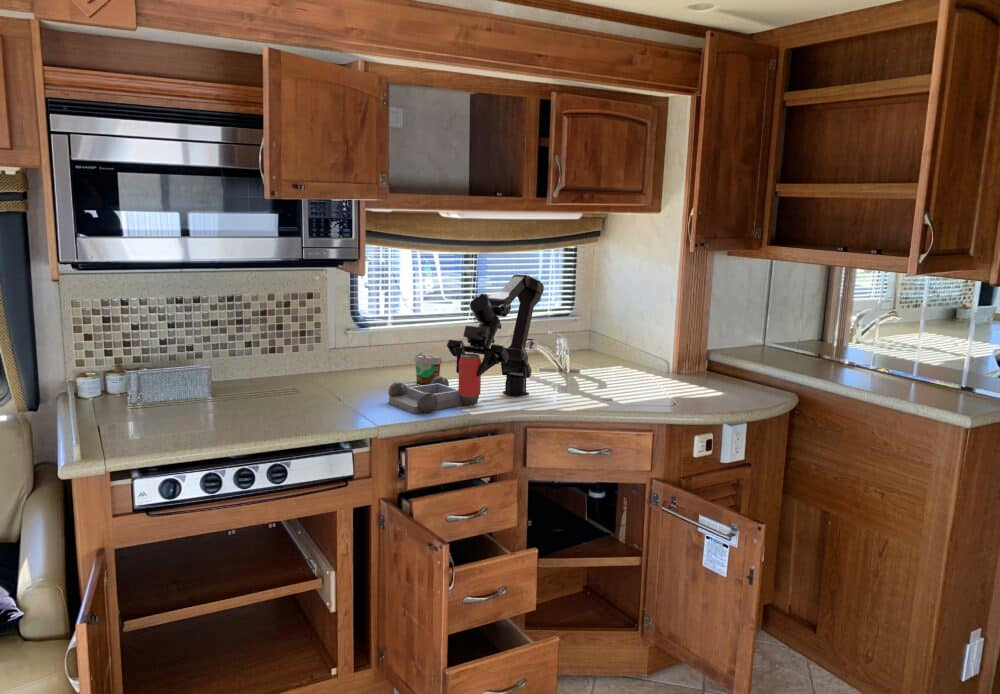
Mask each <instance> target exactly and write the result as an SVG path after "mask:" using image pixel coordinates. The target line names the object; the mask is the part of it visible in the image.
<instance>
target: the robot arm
mask: <svg viewBox="0 0 1000 694" xmlns="http://www.w3.org/2000/svg"><path fill="white" fill-rule="evenodd" d="M544 289H545V286H544V284H543V283H542V281H541V280H539V279H537V278H534V277H531V275H528V274H525V273H514V274H513V275H512V277H511V279H509V281H508V282H507V283H506V285H504V287H503V288H502V289H501V290H500V291H499V292H496V293H493V294H490V295H489V296H488V294H487V293H480V295H479V296H477V297H475V298H473V299H472V300H471V301H470V303H469V307H470V310H471V312H472V313H473V316H474V318H475V319H476V320H477V322H479V324H478V326H471V325H466V326H465V327H464V328H465V329H464V331H463V337H464V338H467V340H466V342H467V343H468V344H464V342H463V340H461V339H453V338H451V339H448V341H447V343H446V347H447V349H448V351H449V352H450V354H451V355H452V356H453V357H456V367H455V368H456V370H455V371H456V374H459V361H460V358H461V355H462V354H467V353H469V354H478V355H483V358H482V361H481V365H480V367H479V370H478V373H477V375H478V376H480V375H481V376H482V375H483V374H484V373H486V372H487V371H488V370H489V369H491V368H493V367H494V366H496V365H499V364H500V367H501V369H500V370H501V374H502V376H505V377H506V379H505V383H504V384H505V385H504V387H505V388H504V390H503V391H502V393H503V394H505V395H509V396H512V397H520V396H525V395H530V392H528V391H527V379H528V378H531V375H532V371H533V370H532V367H531V365H530V364H529V355H528V352H527V350H526V345H527V341H528V337H529V331H530V325H531V322H532V318H533V313H534V307H536V306H537V304H538V303H539V302H540V301H541V298H542V295H543V294H544ZM516 298H517V299H518V302H519V305H518V311H517V314H516V318H515V319H516V320H515V325H514V327H513V328H514V330H513V334H512V339H511V343H510V345H509V346H508V347H505V345H504V344H496V343H495V342H496V340H495V339H494V338H495V336H496V333H497V332H498V330H499V329H500V330H502V324H501V320H500V318H499V317H501V318H506V317H507V316H508V314H509V313H510V311H511V309H512V305H511V304H512V302H514V300H515V299H516Z"/></svg>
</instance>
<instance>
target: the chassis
mask: <svg viewBox="0 0 1000 694" xmlns="http://www.w3.org/2000/svg"><path fill="white" fill-rule="evenodd" d="M387 393H388V404H389V403H390V404H389V405H391V404H392V406H394V405H395V407H397V406H398V407H397V408H399V407H400V409H402V408H403V409H402V410H404V409H406V410H405V411H407V410H409V411H411V412H410V413H412V412H413V413H412V414H414V413H415V414H418V413H417V412H420V413H425V414H430V413H429V412H431V413H433V412H434V411H436V410H435V409H437V410H442V408H443V409H448V407H449V408H453V407H454V408H455V407H459V405H460V406H465V404H466V406H471V405H472V406H474V405H475V404H477V403H478V401H479V398H480V395H479V396H476V397H463V396H460V395H459V393H458V389H457V388H456V387H455V388H454V387H451V386H450V385H449V380H448V378H447V377H444V376H442V375H441V376H440V375H439V376H437V377H435V378H434V379H433V380H432V381H431V384H429V385H422V386H421V385H417V386H410V387H408V386H407V384H406V383H403V382H400V381H395V382H393V383H392V384H390V386H389V388H388V392H387ZM472 406H471V407H472ZM409 411H408V412H409Z"/></svg>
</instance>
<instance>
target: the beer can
mask: <svg viewBox="0 0 1000 694" xmlns="http://www.w3.org/2000/svg"><path fill="white" fill-rule="evenodd" d="M481 363H482V361H481V357H480V354H475V353H466V354H462V355H461V358H460V361H459V373H458V393H459V395H460V396H463V397H476V396H479V397H480V395H481V392H482V391H481V386H482V384H481V383H482V375H480V376H478V375H477V373H478V370H479V367H480V365H481Z"/></svg>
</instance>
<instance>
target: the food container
mask: <svg viewBox="0 0 1000 694" xmlns="http://www.w3.org/2000/svg"><path fill="white" fill-rule="evenodd" d="M413 362H414V363H415V375H416V376H415V378H416V384H417V385H418V384H419V385H418V386H421V385H429V384H431V381H432V380H433V379H434V378H435V377H437V376H440V373H441V365H442V364H443V363H442V357H437V358H436V357H433V356H428V355H424V354H423V352H417V353H415V354H414V356H413Z"/></svg>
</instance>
